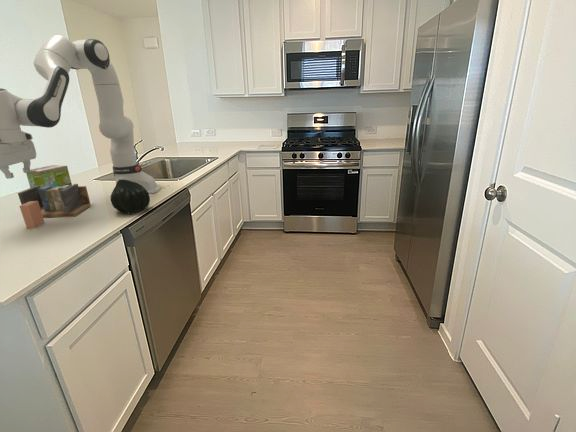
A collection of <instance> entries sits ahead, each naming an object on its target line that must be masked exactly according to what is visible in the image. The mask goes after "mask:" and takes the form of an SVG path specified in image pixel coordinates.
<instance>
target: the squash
mask: <svg viewBox="0 0 576 432" xmlns="http://www.w3.org/2000/svg"><path fill="white" fill-rule="evenodd" d="M110 194H111V195H110V203H111V206H112V207H113V208H114V209H115V210H116V211H117V212H119V213H121V214H125V215H127V214H129V215H131V214H134V213H135V212H139V211H141V210H142V209H143V210H145V209H146V208H148V207H149V205H150V200H151V197H150V194H149V193H148V192H147V190H146V189H145V188H144V187H143V186H142V185H140V184H138V183H136V182H132V181H129V180H121V179H119V181H118V182H117V184H116V183H115V186H114V188H113V190H112V192H111V193H110ZM143 210H142V211H143Z"/></svg>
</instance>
